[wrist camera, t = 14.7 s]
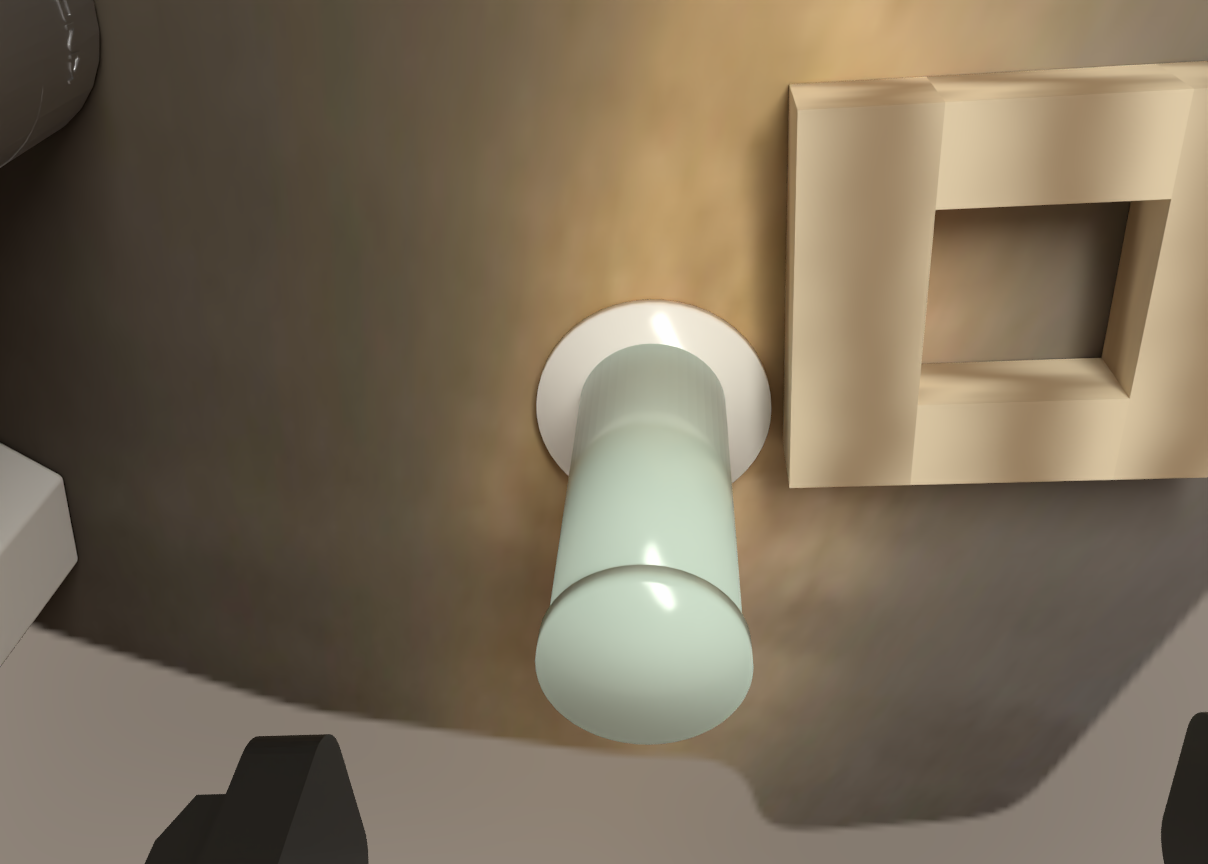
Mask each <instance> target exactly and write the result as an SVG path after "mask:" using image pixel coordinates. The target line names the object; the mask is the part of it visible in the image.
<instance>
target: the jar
mask: <svg viewBox="0 0 1208 864" xmlns="http://www.w3.org/2000/svg"><path fill="white" fill-rule="evenodd" d="M77 560H78V556H77V551H76V546H75V541H74V535H73V530H72V525H71V520H70V514H69V509H68V504H67V498H66V493H65V488H64V482H63V478H62V476H60V475H59V474H57V473H55V472H54V471H52V470H50V469H48V468H46V467H44V466H43V465H41V464H39V463H37V462H35V461H33V460H32V459H30V458H28V457H26V456H24V455H22V454H20V453H19V452H17V451H15V450H13V449H11V448H9V447H8V446H6V445H4V444H2V443H0V667H1V665H2V664H3V663H4V661H5V660H6V659H7V657H8V656H9V654H10V653H11V652H12V650H13V649H14V648H15V646H16V645H17V643H18V642H19V641H20V639H21V638H22V637H23V635H24V634H25V633H26V631H27V630H28V628H29V627H30V626H31V624H32V623H33V622H34V620H35V619H36V617H37V616H38V615H39V613H40V612H41V611H42V609H43V608H44V606H45V605H46V604H47V602H48V601H49V600H50V598H51V597H52V596H53V594H54V593H55V591H56V590H57V589H58V587H59V586H60V585H61V583H62V582H63V580H64V579H65V578H66V576H67V575H68V574H69V572H70V571H71V569H72V568H73V567H74V565H75V564H76V563H77Z"/></svg>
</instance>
